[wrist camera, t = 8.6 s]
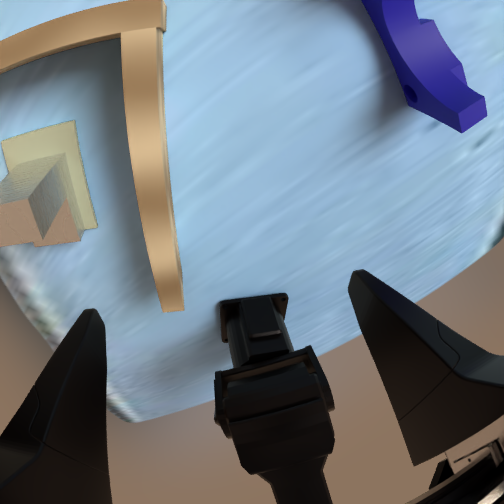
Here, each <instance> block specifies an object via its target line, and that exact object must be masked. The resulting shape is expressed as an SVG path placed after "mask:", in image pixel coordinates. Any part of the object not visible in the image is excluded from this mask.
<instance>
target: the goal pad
mask: <svg viewBox="0 0 504 504" xmlns="http://www.w3.org/2000/svg"><path fill="white" fill-rule="evenodd" d="M1 144H2V148H3V152H4V156H5V160H6V164H7V167H8V171H9V172H10V171H11V170H12V169H13V168H14V167H15V166H16V165H17V164H19V163H23V162H27V161H31V160H34V159H38V158H43V157H47V156H51V155H55V154H60V153H64V152H65V153H66V157H67V162H68V167H69V171H70V175H71V179H72V183H73V187H74V191H75V195H76V199H77V202H78V206H79V210H80V213H81V216H82V220H83V223H84V226H85V229H91V228H97V227H98V224H97V220H96V216H95V213H94V209H93V205H92V201H91V197H90V193H89V189H88V185H87V181H86V176H85V172H84V167H83V162H82V158H81V152H80V147H79V142H78V136H77V130H76V124H75V120H72V121H68V122H64V123H60V124H56V125H52V126H48V127H45V128H41V129H37V130H34V131H30V132H27V133H24V134H21V135H17V136H14V137H11V138H8V139H5V140H3V141H1Z"/></svg>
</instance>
